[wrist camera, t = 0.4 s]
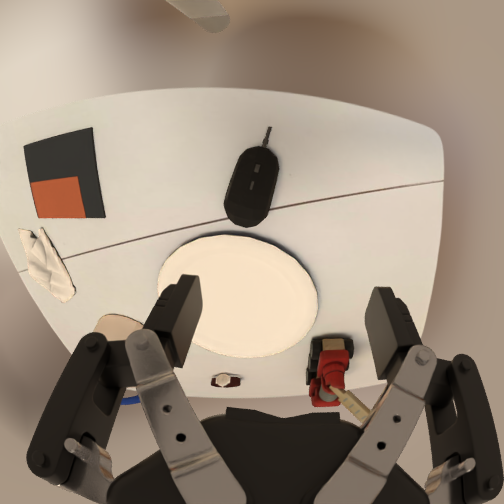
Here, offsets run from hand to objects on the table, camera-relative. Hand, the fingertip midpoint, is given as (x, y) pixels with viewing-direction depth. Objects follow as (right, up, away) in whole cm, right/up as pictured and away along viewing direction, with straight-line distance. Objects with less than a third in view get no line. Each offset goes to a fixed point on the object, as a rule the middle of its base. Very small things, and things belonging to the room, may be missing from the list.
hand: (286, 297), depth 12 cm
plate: (-4, -7, +37) cm, 38 cm away
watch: (-8, -29, +51) cm, 59 cm away
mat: (-37, +16, +27) cm, 48 cm away
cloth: (-51, 0, +39) cm, 64 cm away
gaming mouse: (-1, +12, +25) cm, 28 cm away
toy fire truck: (+16, -20, +42) cm, 50 cm away
